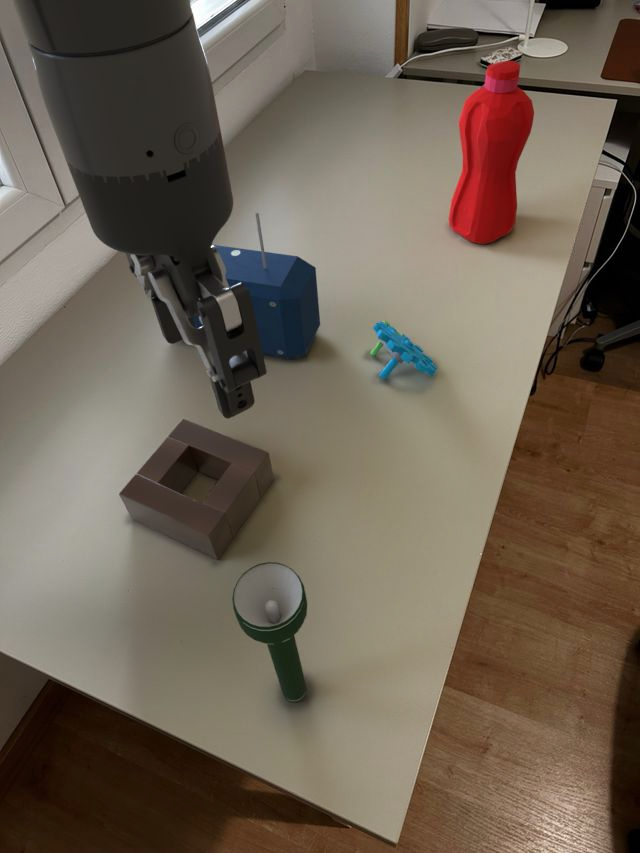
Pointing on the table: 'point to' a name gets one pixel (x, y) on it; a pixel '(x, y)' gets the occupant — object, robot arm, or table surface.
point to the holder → (175, 467)
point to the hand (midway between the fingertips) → (207, 371)
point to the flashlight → (274, 619)
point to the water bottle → (491, 155)
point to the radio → (276, 297)
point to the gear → (400, 350)
